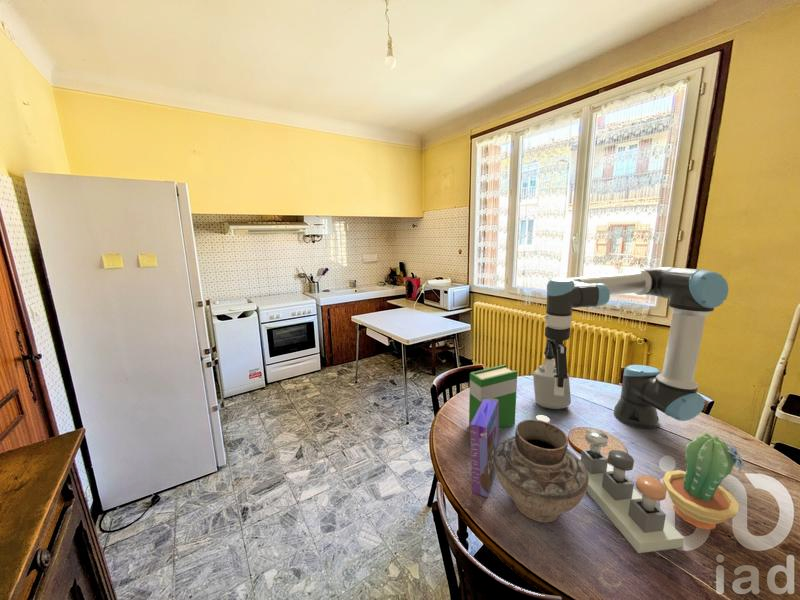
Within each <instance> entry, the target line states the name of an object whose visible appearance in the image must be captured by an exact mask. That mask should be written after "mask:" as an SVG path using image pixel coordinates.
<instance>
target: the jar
mask: <svg viewBox="0 0 800 600" xmlns="http://www.w3.org/2000/svg"><path fill="white" fill-rule="evenodd" d="M544 358H545V359H547V358H546V357H545V356H544ZM567 374H568V378H567V379H565V384H564V396H558V395H554V385H555V377H554V375H556V367H555V364H554V369H553V377H547V376H545V364H541V365H539V367H538V368H537V369H535V370H534V371H533V375H532V376H533V377H532V379H533V390H534V399H535V403H536V404H537V405H539V406H540V407H542V408H546V409H552V410H553V409H554V410H561V409H565V408H568V407H569V406H570V405H571V404H572V399H571V385H570V375H569V372H567Z"/></svg>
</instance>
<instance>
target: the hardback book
mask: <svg viewBox="0 0 800 600" xmlns="http://www.w3.org/2000/svg"><path fill="white" fill-rule="evenodd" d="M517 387H518V370H511V369H509V367H508V368H507V364H502V365H501V364H500V365H498V366H497V365H496V366H493V367H492V366H491V367H488V368H484V369H480V370H476V371H471V372H469V407H468V409H469V411H468V412H469V413H468V415H469V417H468V420H469V423H468V425H469V427H470V424H471V422H472V420H473V418H474V416H475V414H476V412H477V410H478V409H479V407H480V405H481V403H482V401H483V399H484V397H490V398H494V399H499V430H501V429H504V428H508V427H511V426H514V425H516V407H517Z"/></svg>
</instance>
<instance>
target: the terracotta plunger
mask: <svg viewBox="0 0 800 600" xmlns="http://www.w3.org/2000/svg"><path fill="white" fill-rule="evenodd" d="M635 488H636V491H637V490H638V491H637V492H638V493H639V494H640V495H641V496H642V501H641V506H642V507H643V508H644V509H645V510H647V511H651V512H652V511H654V510H655V504H656V505H657V501H664V500H665V499H666V494H667V492H668V491H667V489H666V487H665V485H664V484H663V481H660V480H659V479H657V478H655V477H652V476H649V475H644V474H643V475H638V476H637V478H636V483H635Z"/></svg>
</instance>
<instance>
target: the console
mask: <svg viewBox="0 0 800 600" xmlns="http://www.w3.org/2000/svg"><path fill="white" fill-rule="evenodd" d="M577 457H578V456H577ZM578 458H579V459H580V460H581V461H582V462H583V464H584V466H585V467H586V470H587V472H588V477H589V480H588V486H587V490H586V492H587V493H588V495H589V496H590V497H591V498H592V499H593V501H594V503H596V505H597V506H598V507H599V508H600V509H601V510H602V512H603V513H604V514H605V515H606V516H607V517H608V519H609V520H610V521H611V522H612V524H614V526H615V528H617V529H618V530H619V532H620V533H621V534H622V535H623V536H624V538H625V539H626V540H627V541H628V543H629V544H630V545H631V546H632V548H633V549H634V550H635V551H636V552H637V553H638V554H642V553H650V552H657V551H658V552H659V551H666V550H673V549H682V548H683V546H684V542H685V537H684V536H683V535H682V534H681V533H680V532H679V531H678V530H677V529H676V528H675V527H674V526H673V525H672V524H671V523H670V522H669V521H668V520H667V519H666V517H667V514H666V513H665V512H664V511H663V510H662V509H661V508H660V507H659V506H658V505H657V503H656V504H655V510H654V511H652V512H651V511H647V510H645V509H644V508H643V507H642V506H641V501H642V494H641V493H640V492H639V491H637V489H635V488H634V485H635V484H634V482H633V481H632V480H630V479H629V477H627V475H625V478H624V481H617V480H615V479H614V478H613V469H614V467H613V466H612V465H611V464H610V463H609V461H608V457H607V456H605V454H604V453H602V451H600V456H599V457H593V456H592V455H590V448H586V449H585V448H584V449H581V454H580V456H579V457H578Z"/></svg>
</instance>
